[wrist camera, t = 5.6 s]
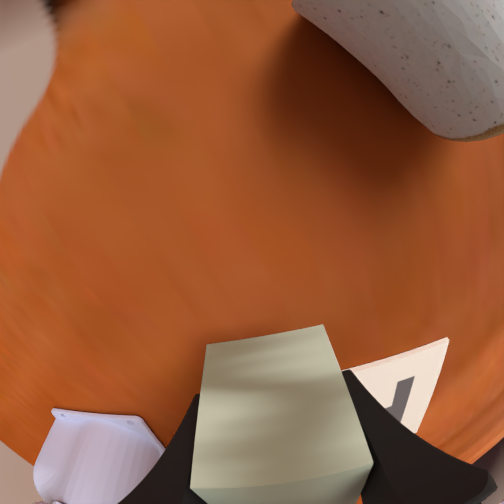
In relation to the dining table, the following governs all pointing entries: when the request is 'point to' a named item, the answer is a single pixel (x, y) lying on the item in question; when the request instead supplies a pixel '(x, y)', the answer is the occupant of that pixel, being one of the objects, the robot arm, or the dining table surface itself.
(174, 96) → the dining table surface
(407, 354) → the letter card
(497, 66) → the ceramic mug
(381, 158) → the dining table surface
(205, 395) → the green block
